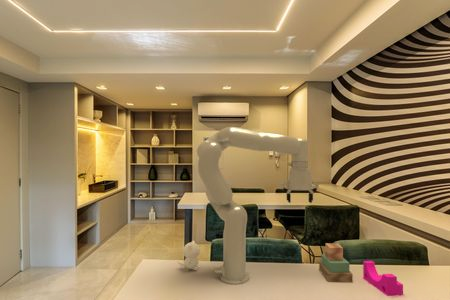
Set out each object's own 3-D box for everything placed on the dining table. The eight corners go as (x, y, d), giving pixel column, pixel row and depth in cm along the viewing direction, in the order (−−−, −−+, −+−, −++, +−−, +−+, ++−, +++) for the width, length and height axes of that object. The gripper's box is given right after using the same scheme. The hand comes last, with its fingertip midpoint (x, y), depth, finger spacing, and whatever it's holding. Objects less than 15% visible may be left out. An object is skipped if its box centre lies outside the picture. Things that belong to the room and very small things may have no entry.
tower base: (327, 283, 114) (327, 273, 114) (319, 270, 126) (319, 261, 126) (352, 283, 114) (352, 274, 114) (341, 271, 126) (341, 262, 126)
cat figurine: (197, 273, 123) (197, 246, 123) (174, 271, 124) (174, 245, 124) (202, 265, 131) (202, 240, 131) (180, 264, 133) (180, 238, 133)
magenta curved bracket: (403, 296, 103) (403, 276, 103) (387, 297, 103) (387, 277, 103) (377, 278, 118) (377, 260, 118) (363, 278, 118) (363, 261, 118)
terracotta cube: (329, 260, 118) (329, 247, 118) (325, 255, 123) (325, 243, 123) (342, 260, 117) (342, 247, 117) (337, 255, 123) (338, 243, 123)
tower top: (330, 272, 115) (330, 263, 115) (321, 263, 125) (321, 254, 125) (349, 272, 115) (349, 262, 115) (338, 262, 125) (338, 253, 125)
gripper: (281, 165, 125) (282, 203, 125) (320, 165, 124) (320, 203, 124) (279, 164, 133) (279, 200, 133) (316, 164, 132) (316, 200, 132)
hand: (299, 202), depth 129 cm, fingers open, 9 cm apart
